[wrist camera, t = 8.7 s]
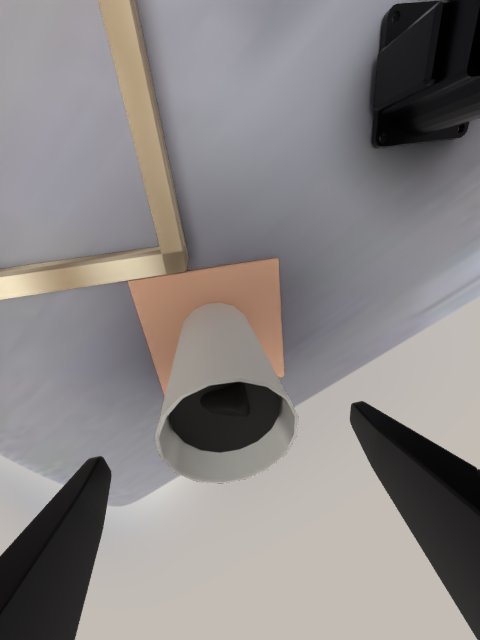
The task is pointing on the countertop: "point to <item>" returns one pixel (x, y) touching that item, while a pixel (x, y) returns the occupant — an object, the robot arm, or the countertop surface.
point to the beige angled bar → (155, 171)
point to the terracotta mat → (204, 288)
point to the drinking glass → (223, 402)
